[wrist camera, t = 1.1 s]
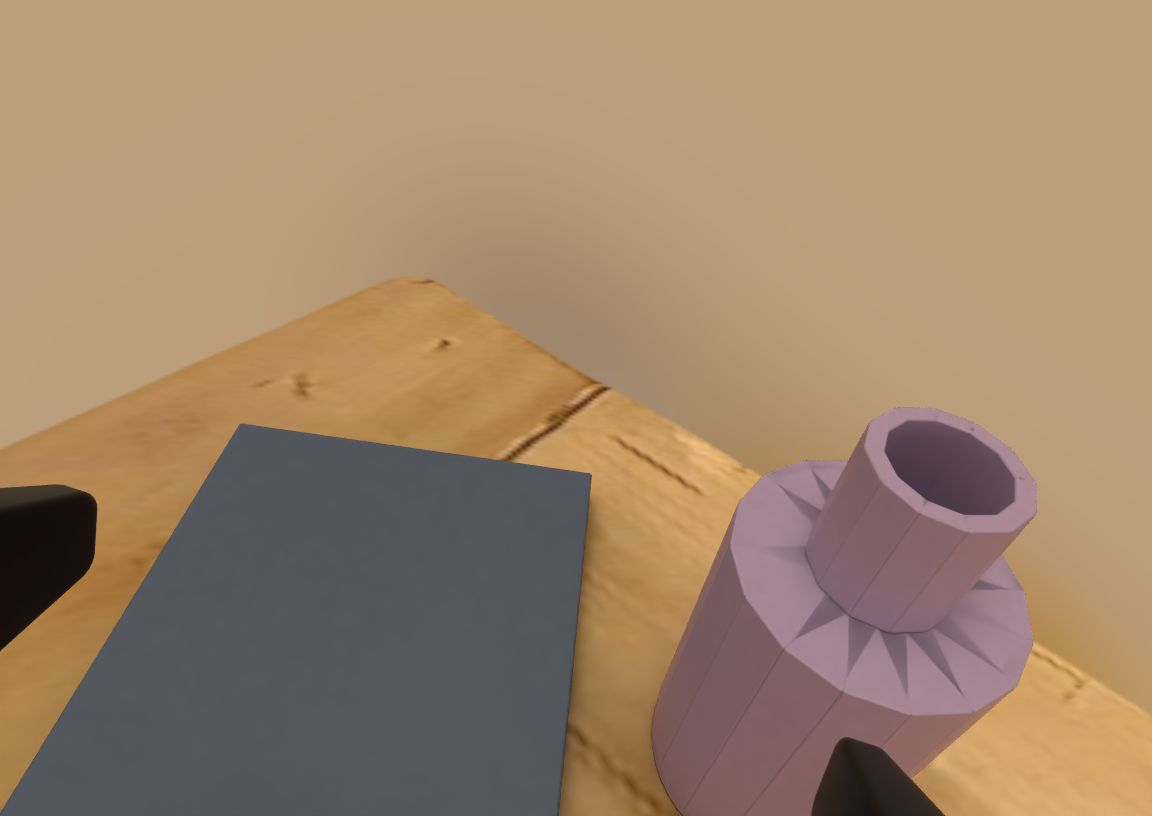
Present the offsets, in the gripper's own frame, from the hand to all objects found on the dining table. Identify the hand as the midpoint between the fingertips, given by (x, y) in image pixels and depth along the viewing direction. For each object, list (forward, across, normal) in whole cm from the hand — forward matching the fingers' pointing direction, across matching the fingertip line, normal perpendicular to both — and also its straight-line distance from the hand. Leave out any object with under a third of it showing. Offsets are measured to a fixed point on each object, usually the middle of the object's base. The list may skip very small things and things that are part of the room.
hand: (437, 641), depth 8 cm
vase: (+14, -7, +10) cm, 18 cm away
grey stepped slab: (+11, +6, +12) cm, 17 cm away
